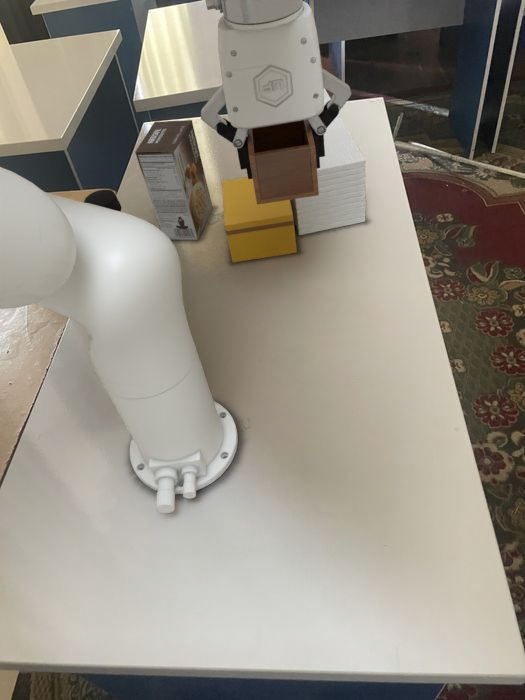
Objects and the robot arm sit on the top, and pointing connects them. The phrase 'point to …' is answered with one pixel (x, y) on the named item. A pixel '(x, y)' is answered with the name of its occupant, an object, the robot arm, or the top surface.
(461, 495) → the top surface
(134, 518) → the top surface
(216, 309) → the top surface
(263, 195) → the wooden box
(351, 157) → the stack of papers
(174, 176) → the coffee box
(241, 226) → the box
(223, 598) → the top surface
